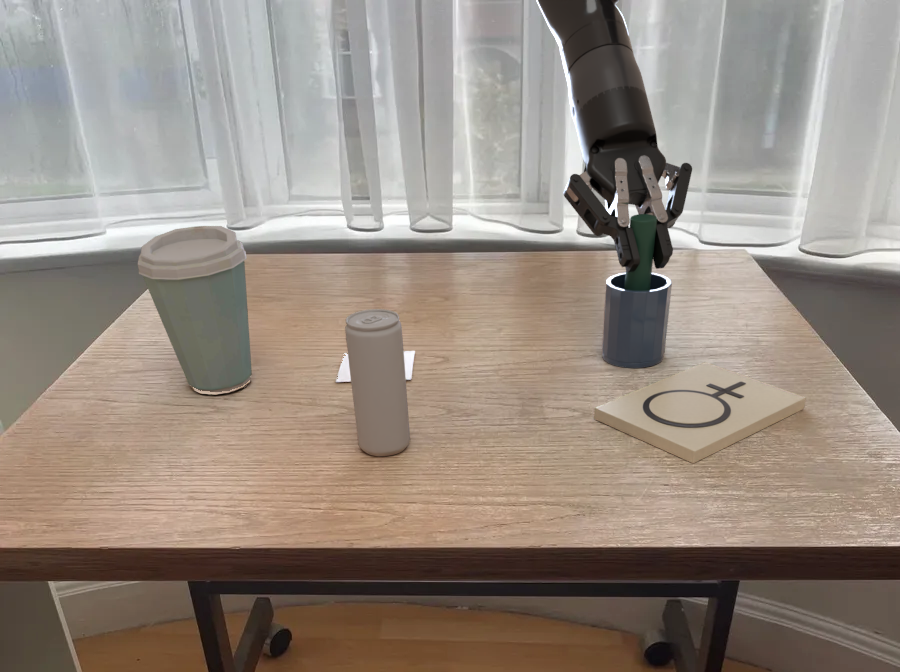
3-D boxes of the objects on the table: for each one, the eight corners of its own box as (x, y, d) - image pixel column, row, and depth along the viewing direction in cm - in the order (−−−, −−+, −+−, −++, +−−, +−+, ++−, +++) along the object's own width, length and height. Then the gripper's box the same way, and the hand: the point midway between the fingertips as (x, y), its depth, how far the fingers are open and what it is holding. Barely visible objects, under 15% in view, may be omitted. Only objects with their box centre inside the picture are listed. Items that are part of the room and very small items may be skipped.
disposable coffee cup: (258, 404, 91) (229, 252, 82) (154, 407, 92) (115, 256, 83) (277, 363, 100) (254, 221, 91) (182, 366, 100) (149, 225, 91)
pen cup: (630, 340, 101) (636, 267, 96) (676, 356, 97) (685, 281, 92) (588, 355, 98) (592, 281, 93) (634, 373, 94) (640, 296, 89)
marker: (632, 319, 97) (642, 212, 90) (651, 326, 95) (662, 217, 88) (616, 325, 96) (625, 217, 89) (634, 332, 94) (644, 223, 87)
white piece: (411, 379, 94) (410, 372, 94) (335, 382, 95) (334, 374, 94) (415, 350, 101) (414, 343, 100) (344, 353, 101) (343, 346, 101)
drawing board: (703, 372, 93) (705, 359, 92) (804, 409, 85) (807, 395, 84) (593, 419, 85) (594, 405, 85) (693, 463, 78) (695, 449, 77)
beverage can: (421, 445, 83) (412, 316, 75) (382, 464, 80) (369, 332, 73) (387, 429, 86) (375, 304, 78) (347, 447, 83) (332, 319, 76)
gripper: (554, 89, 87) (594, 254, 85) (688, 77, 89) (729, 238, 87) (536, 140, 94) (572, 293, 92) (660, 128, 97) (697, 277, 94)
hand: (648, 265), depth 90 cm, fingers closed on marker, 2 cm apart
